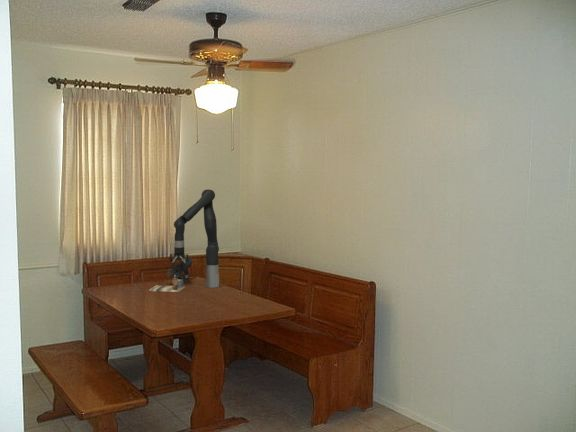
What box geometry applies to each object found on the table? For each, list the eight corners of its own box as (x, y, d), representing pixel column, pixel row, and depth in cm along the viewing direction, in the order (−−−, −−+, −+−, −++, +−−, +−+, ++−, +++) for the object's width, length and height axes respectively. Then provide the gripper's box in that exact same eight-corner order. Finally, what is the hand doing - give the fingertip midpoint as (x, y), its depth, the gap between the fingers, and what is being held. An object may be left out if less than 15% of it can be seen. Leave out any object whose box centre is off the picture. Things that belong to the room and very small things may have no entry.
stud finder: (183, 286, 414) (183, 279, 413) (180, 288, 408) (180, 280, 407) (177, 286, 414) (177, 278, 413) (175, 287, 408) (175, 280, 407)
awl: (178, 289, 404) (177, 274, 403) (176, 290, 400) (176, 275, 400) (173, 288, 404) (173, 274, 403) (171, 289, 401) (171, 275, 400)
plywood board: (185, 287, 414) (185, 286, 414) (179, 291, 400) (179, 290, 399) (155, 286, 416) (155, 285, 416) (149, 291, 401) (149, 289, 401)
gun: (194, 281, 438) (194, 257, 437) (172, 288, 413) (172, 262, 411) (187, 280, 441) (187, 256, 440) (165, 287, 416) (164, 261, 414)
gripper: (189, 246, 412) (189, 267, 413) (171, 245, 413) (171, 266, 414) (187, 247, 404) (187, 268, 405) (168, 246, 405) (168, 268, 407)
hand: (179, 267), depth 410 cm, fingers open, 8 cm apart
